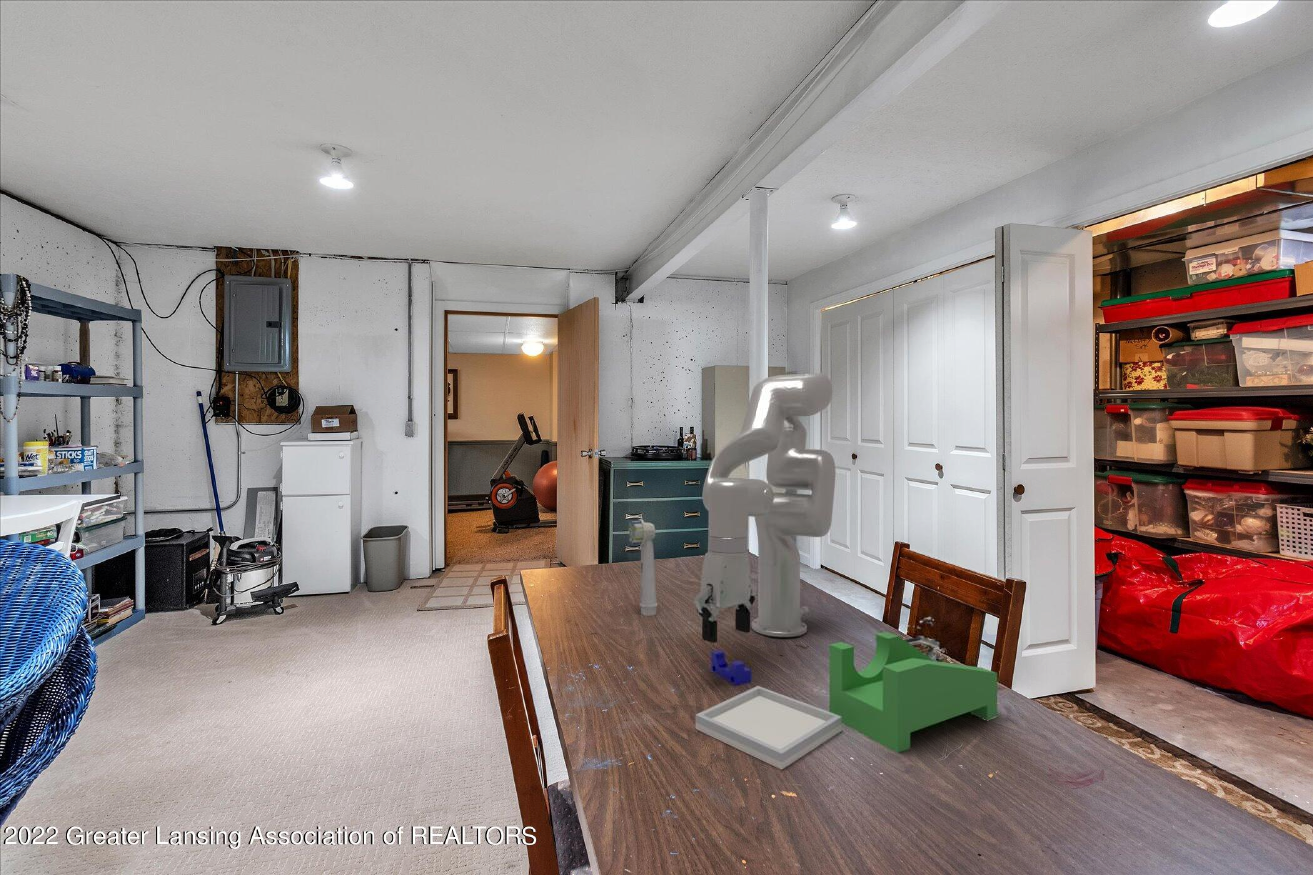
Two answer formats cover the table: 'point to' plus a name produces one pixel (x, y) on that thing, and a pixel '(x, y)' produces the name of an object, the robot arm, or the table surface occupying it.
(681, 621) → the table surface
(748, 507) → the robot arm
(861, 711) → the green cradle stand
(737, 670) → the cable holder
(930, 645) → the silver rectangular box
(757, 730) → the tray
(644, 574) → the toothbrush head
